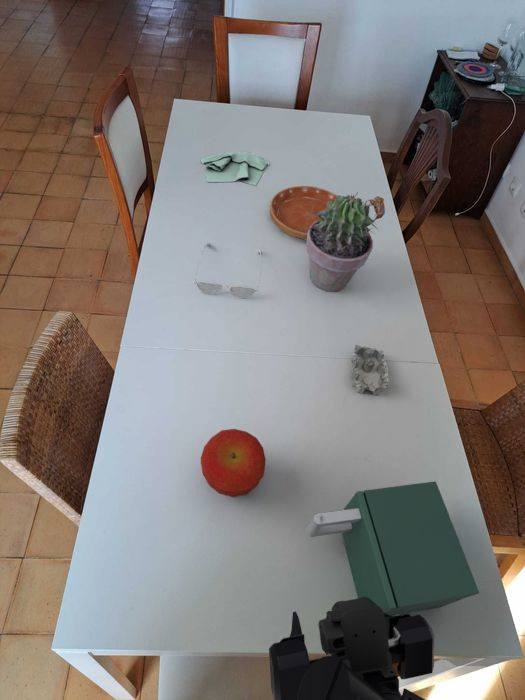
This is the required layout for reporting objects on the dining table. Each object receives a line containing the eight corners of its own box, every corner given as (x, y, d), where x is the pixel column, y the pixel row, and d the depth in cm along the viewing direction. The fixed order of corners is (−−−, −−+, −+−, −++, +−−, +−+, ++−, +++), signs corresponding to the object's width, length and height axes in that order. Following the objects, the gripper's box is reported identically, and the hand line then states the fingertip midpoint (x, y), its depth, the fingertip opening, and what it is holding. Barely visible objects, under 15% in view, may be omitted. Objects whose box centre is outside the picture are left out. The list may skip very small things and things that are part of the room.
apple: (255, 516, 79) (261, 491, 69) (194, 503, 79) (192, 477, 70) (265, 457, 86) (273, 427, 76) (209, 446, 86) (210, 415, 76)
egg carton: (383, 398, 96) (389, 388, 93) (348, 391, 96) (353, 381, 93) (383, 358, 103) (389, 347, 99) (350, 352, 103) (355, 341, 100)
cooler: (371, 619, 71) (398, 607, 61) (344, 516, 80) (364, 490, 70) (441, 607, 73) (479, 592, 63) (407, 507, 82) (435, 481, 72)
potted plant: (279, 258, 119) (293, 172, 100) (347, 251, 124) (374, 167, 104) (299, 308, 109) (319, 223, 89) (372, 299, 114) (408, 216, 94)
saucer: (254, 224, 127) (255, 213, 124) (291, 186, 140) (293, 175, 137) (327, 257, 122) (330, 246, 119) (359, 214, 135) (362, 204, 132)
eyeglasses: (193, 292, 109) (193, 280, 106) (205, 244, 120) (205, 231, 117) (257, 300, 110) (258, 289, 106) (263, 251, 120) (264, 239, 117)
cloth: (275, 162, 147) (276, 155, 145) (246, 196, 134) (247, 189, 133) (219, 143, 151) (219, 136, 149) (186, 175, 138) (185, 167, 136)
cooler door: (318, 629, 69) (337, 618, 59) (297, 522, 79) (310, 497, 69) (369, 619, 71) (396, 607, 61) (343, 516, 80) (362, 490, 70)
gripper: (469, 627, 45) (394, 540, 60) (284, 665, 41) (254, 563, 56) (467, 724, 46) (394, 616, 61) (289, 769, 43) (259, 642, 58)
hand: (328, 608), depth 59 cm, fingers open, 9 cm apart
